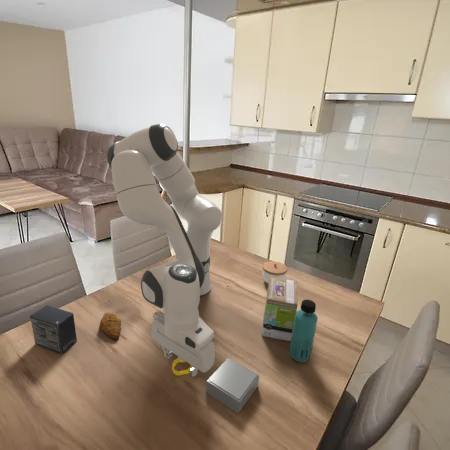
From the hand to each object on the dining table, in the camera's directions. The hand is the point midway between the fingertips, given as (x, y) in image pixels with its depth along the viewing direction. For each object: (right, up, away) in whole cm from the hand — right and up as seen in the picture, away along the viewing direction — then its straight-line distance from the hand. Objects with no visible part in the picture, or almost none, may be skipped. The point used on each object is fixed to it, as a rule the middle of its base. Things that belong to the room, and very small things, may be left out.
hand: (180, 365), depth 84 cm
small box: (-39, +3, +9) cm, 40 cm away
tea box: (+31, +3, +23) cm, 39 cm away
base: (+14, -5, -3) cm, 15 cm away
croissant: (-25, +4, +17) cm, 31 cm away
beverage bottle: (+35, -2, +9) cm, 36 cm away
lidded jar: (+33, +13, +50) cm, 62 cm away
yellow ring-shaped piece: (0, -3, +1) cm, 3 cm away
